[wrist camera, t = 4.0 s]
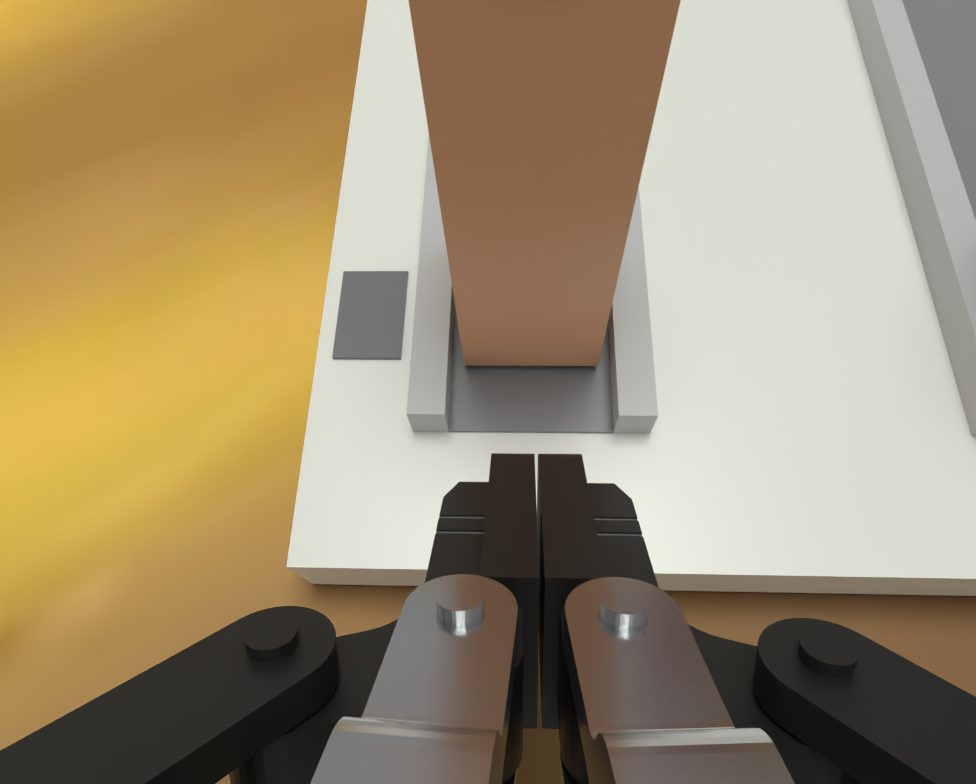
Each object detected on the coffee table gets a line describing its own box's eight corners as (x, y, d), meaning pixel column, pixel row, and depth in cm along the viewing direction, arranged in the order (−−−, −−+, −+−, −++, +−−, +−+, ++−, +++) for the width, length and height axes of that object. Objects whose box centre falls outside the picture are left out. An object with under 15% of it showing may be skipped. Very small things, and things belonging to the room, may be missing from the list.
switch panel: (1316, 601, 15) (1489, 577, 12) (312, 583, 16) (270, 557, 13) (1017, -50, 24) (1079, -147, 22) (391, -36, 25) (375, -126, 23)
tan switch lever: (607, 374, 16) (724, -81, 7) (455, 373, 16) (373, -72, 7) (600, 248, 17) (690, -264, 8) (461, 248, 17) (399, -252, 8)
